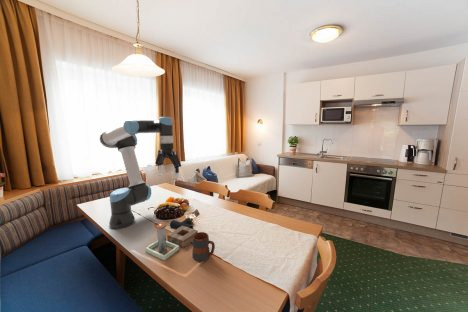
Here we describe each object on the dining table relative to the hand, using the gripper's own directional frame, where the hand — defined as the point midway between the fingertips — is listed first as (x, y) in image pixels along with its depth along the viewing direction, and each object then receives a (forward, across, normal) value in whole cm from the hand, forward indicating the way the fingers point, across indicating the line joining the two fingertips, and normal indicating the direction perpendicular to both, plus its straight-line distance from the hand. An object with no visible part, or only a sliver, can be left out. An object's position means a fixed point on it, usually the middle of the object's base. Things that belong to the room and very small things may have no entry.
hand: (168, 176), depth 121 cm
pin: (+34, +15, -19) cm, 42 cm away
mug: (+35, +37, -12) cm, 52 cm away
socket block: (+34, +17, -6) cm, 39 cm away
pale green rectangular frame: (+34, +15, -19) cm, 42 cm away
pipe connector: (+35, +7, +5) cm, 36 cm away
